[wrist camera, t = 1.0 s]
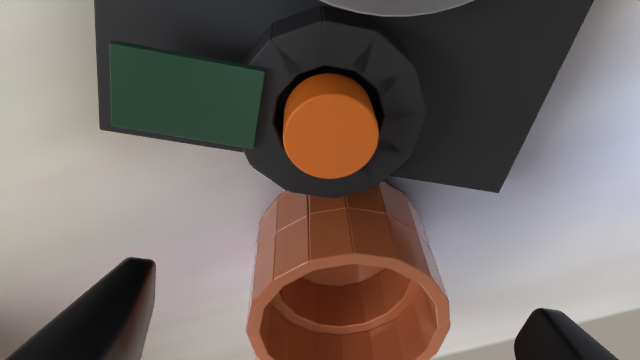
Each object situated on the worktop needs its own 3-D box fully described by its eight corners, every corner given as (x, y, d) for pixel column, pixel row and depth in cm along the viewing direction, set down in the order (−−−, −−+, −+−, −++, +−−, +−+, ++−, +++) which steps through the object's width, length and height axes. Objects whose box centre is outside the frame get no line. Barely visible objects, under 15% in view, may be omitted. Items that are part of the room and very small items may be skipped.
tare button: (359, 158, 15) (365, 186, 14) (277, 144, 15) (275, 172, 13) (382, 81, 14) (391, 103, 12) (292, 64, 13) (292, 85, 12)
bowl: (392, 298, 22) (414, 398, 18) (248, 281, 22) (236, 381, 17) (440, 180, 19) (481, 270, 15) (271, 153, 18) (262, 240, 14)
